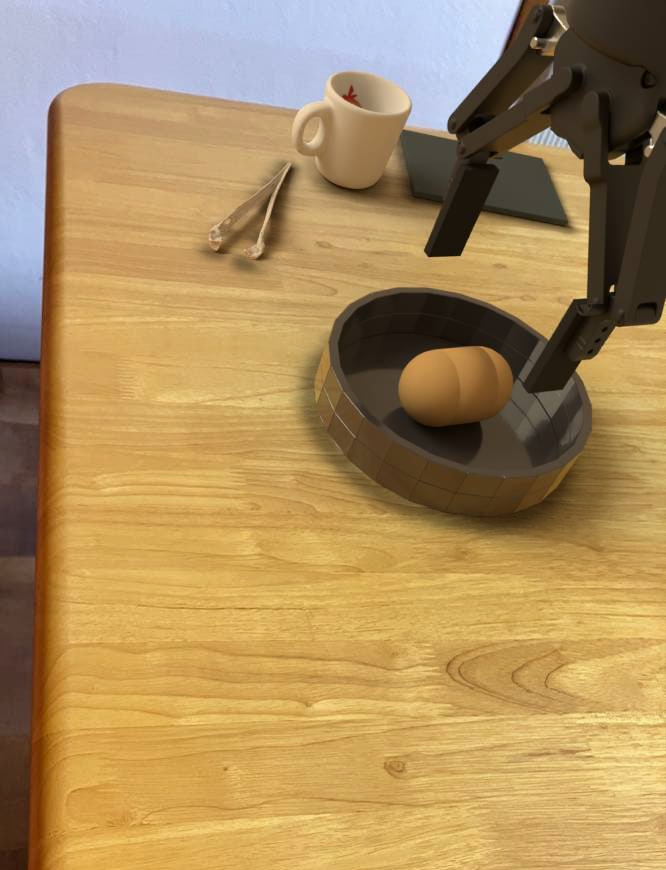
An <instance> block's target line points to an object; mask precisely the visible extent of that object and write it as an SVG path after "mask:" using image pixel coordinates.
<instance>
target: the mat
mask: <svg viewBox="0 0 666 870" xmlns="http://www.w3.org/2000/svg"><path fill="white" fill-rule="evenodd" d="M399 140H400V143H401V147H402V151H403V157H404V160H405V166H406V171H407V174H408V178H409V182H410V188H411V192H412V197H416V198H420V199H426V200H430V201H436V202H440V203H441V202H442V203H444V200H443V196H444V190H445V188H446V185H447V183H448V181H449V178H450V176H451V173H452V171H453V169H454V166H455V164H456V161H457V159H458V156H457V153H456V148H457V144H458V140H457V139H451V138H447V137H442V136H437V135H432V134H427V133H423V132H419V131H414V130H408V129H404V128H403V130H402V133H401V135H400V137H399ZM498 157H503V159H501V160H490V159H488V161H487V163H486V164H495V166H496V167H497V168H498V169H499V170H500V171H499V173H498V175H497V178H496V180H495V182H494V184H493V186H492V189H491V191H490V193H489V195H488V197H487V200H486V202H485V204H484V206H483V208H482V210H481V211H486V212H491V213H496V214H501V215H507V216H511V217H519V218H522V219H527V220H533V221H538V222H544V223H548V224H552V225H559V226H562V227H566V226H567V224H568V222H569V220H568V217H567V215H566V213H565V211H564V208H563V205H562V203H561V200H560V198H559V195H558V193H557V191H556V187H555V186H554V184H553V180H552V179H551V176H550V174H549V171H548V170H547V166H546V164H545V162H544V161H545V160H543V159H544V158H542V157H539V156H538V157H537V156H534V155H533V156H532V155H528V154H523V153H519V152H513V151H510V150H508V151H507V152H505V153H503V154H502V155H500V156H498Z"/></svg>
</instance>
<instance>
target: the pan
mask: <svg viewBox="0 0 666 870" xmlns="http://www.w3.org/2000/svg"><path fill="white" fill-rule="evenodd" d="M326 341H327V342H326V344H325V348H324V351H323V353H322V356H321V360H320V362H319V365H318V368H317V371H316V374H315V377H314V381H313V385H314V386H313V387H314V399H315V406H316V409H317V412H318V415H319V418H320V420H321V422H322V424H323V426H324V428H325V430H326V432H327V434H328V435H329V437H330V438H331V440H332V442H334V444H335V446H336V447H337V448H338V449H339V450H340V451H341V452H342V454H343V455H344V456H345V457H346V458H347V460H349V461H350V462H351V463H352V464H354V465H355V467H357V468H358V470H360V471H361V472H362V473H364V474H365V475H366V476H367V477H369V478H371V480H373V481H374V482H376V483H377V484H378V485H381V486H382V487H383V488H385V489H388V491H390V492H393V493H395V494H396V495H398V496H401V497H403V498H405V499H406V500H409V501H411V502H413V503H416V504H419V505H422V506H423V507H427V508H430V509H434V510H438V511H441V512H445V513H449V514H455V515H461V516H471V517H496V516H503V515H509V514H515V513H517V512H521V511H524V510H526V509H529V508H530V507H533V506H535V505H538V504H539V503H541V502H542V501H543V500H544V499H545V498H547V497H548V496H549V495H550V494H551V493H552V492H553V491H555V490H556V489H557V488H558V486H559V485H560V484H561V482H562V481H563V479H564V478H565V477H566V475H567V474H568V472H569V471H570V469H571V468H572V467H573V465H574V464H575V462H576V461H577V460H578V458H579V457H580V456H581V454H582V453H583V451H584V449H585V447H586V445H587V443H588V440H589V438H590V436H591V433H592V431H593V405H592V402H591V399H590V397H589V394H588V391H587V388H586V385H585V383H584V381H583V379H582V378H581V376H580V375H579V374H578V372H577V371H576V370H577V369H576V370H575V372H574V373H573V375H572V376H571V378H570V379H569V381H568V382H567V384H566V386H565V387H564V389H563V390H557V391H548V392H539V393H530V394H528V393H527V391H526V390H525V389H524V387H523V386H522V385H523V383H524V381H525V380H526V378H527V376H528V374H529V373H530V371H531V369H532V368H533V366H534V364H535V363H536V361H537V359H538V358H539V356H540V354H541V353H542V351H543V349H544V348H545V346H546V344H547V343H548V341H549V339H548V338H547V337H545V336H544V335H543V334H542V333H541V332H539V331H537V330H536V329H535V328H533V327H532V326H531V325H529V324H528V323H526V322H525V321H523V320H522V319H521V318H519V317H517V316H516V315H514V314H512V313H510V312H507V311H506V310H505V309H502V308H500V307H498V306H496V305H494V304H492V303H490V302H487V301H484V300H481V299H477V298H476V297H472V296H469V295H465V294H463V293H460V292H456V291H451V290H445V289H439V288H433V287H425V286H402V287H401V286H398V287H397V286H395V287H391V288H386V289H381V290H377V291H372V292H370V293H367V294H366V295H363V296H361V297H360V298H358V299H356V300H354V301H352V302H350V303H349V304H348V305H347V306H346V307H345V308H344V310H342V311H341V313H340V314H339V315H337V317H336V318H335V319H334V321H333V324H332V327H331V330H330V333H329V336H328V339H327V340H326ZM469 346H481V347H486V348H489V349H492V350H494V351H496V352H497V353H499V354H500V355H501V356H502V357H503V358H504V359H505V360H506V362H507V363H508V365H509V367H510V369H511V372H512V376H513V389H512V393H511V396H510V399H509V401H508V402H507V404H506V405H505V407H504V408H503V409H502V410H501V411H500V412H499V413H498V414H496V415H495V416H493V417H491V418H489V419H487V420H483V421H480V422H472V423H465V424H457V425H450V426H442V427H431V426H426V425H423V424H421V423H419V422H417V421H415V420H414V419H412V418H411V417H410V416H409V415H408V414H407V413H406V411H405V410H404V408H403V406H402V404H401V402H400V398H399V390H398V388H399V381H400V378H401V375H402V372H403V370H404V369H405V367H406V366H407V365H408V363H409V362H410V361H411V360H413V359H414V358H415V357H416V356H418V355H420V354H422V353H424V352H427V351H431V350H437V349H447V348H458V347H469Z"/></svg>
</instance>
